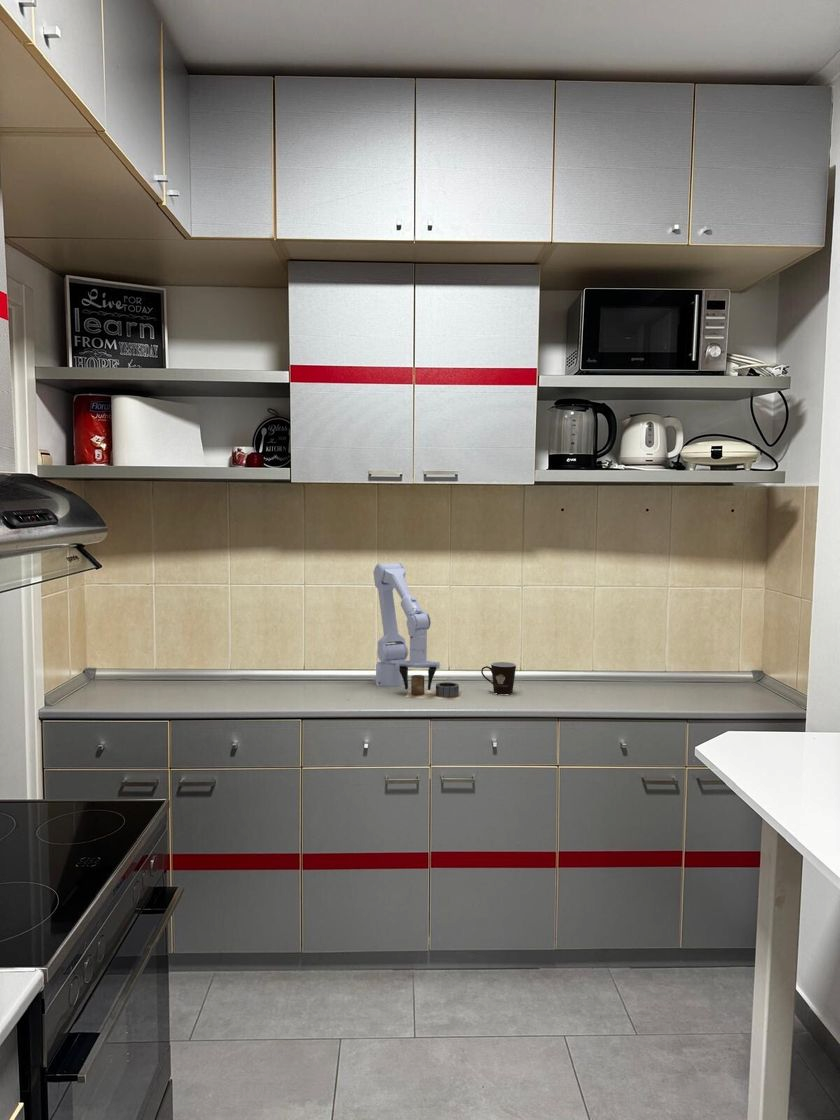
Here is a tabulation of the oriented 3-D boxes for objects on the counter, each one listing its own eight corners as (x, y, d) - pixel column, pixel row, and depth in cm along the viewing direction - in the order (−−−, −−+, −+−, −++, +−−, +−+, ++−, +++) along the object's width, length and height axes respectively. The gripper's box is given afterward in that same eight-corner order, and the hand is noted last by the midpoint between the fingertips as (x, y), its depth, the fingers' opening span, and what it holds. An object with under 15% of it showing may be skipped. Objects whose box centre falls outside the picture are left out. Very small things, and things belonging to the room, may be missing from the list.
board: (405, 700, 268) (405, 697, 268) (409, 692, 280) (409, 689, 280) (459, 702, 266) (459, 699, 266) (461, 694, 278) (461, 691, 278)
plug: (410, 695, 272) (410, 677, 271) (412, 692, 276) (412, 674, 276) (423, 695, 271) (423, 678, 271) (424, 692, 276) (425, 675, 275)
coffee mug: (520, 693, 281) (521, 664, 280) (504, 697, 275) (504, 667, 274) (495, 687, 289) (496, 659, 289) (479, 691, 284) (479, 662, 283)
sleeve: (435, 697, 269) (435, 686, 269) (437, 692, 277) (437, 681, 276) (457, 698, 268) (458, 687, 268) (459, 692, 276) (459, 682, 276)
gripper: (395, 650, 269) (394, 690, 270) (438, 651, 268) (438, 692, 269) (398, 646, 276) (397, 686, 277) (440, 648, 275) (440, 687, 276)
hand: (417, 688), depth 273 cm, fingers open, 7 cm apart
